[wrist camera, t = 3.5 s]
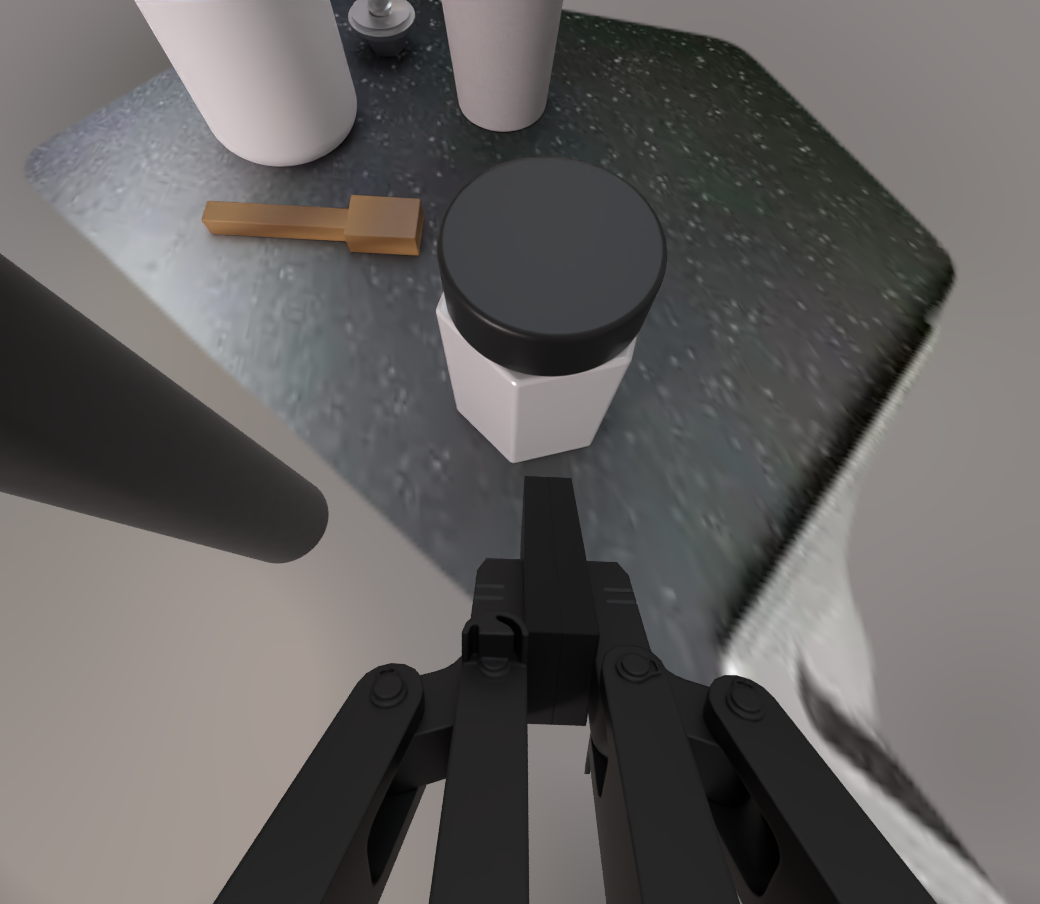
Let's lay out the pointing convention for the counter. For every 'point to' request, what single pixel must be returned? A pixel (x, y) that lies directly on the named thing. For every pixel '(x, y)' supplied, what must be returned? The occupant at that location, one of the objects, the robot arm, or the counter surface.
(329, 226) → the brown wooden bar
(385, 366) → the counter surface
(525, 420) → the jar
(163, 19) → the cup
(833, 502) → the counter surface
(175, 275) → the counter surface
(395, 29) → the screw
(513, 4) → the coffee cup
